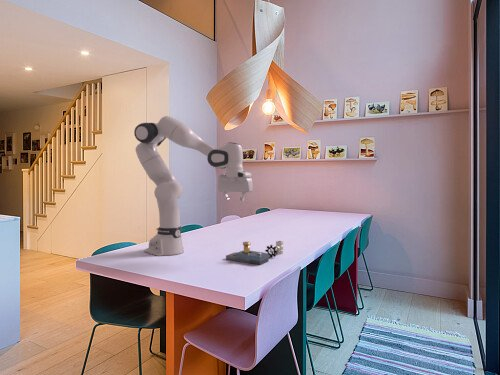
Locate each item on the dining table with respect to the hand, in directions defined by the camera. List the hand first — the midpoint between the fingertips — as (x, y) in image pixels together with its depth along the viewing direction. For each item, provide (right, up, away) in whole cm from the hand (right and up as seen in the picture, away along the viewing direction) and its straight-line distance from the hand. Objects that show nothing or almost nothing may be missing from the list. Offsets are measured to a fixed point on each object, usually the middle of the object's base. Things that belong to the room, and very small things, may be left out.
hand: (234, 200), depth 175 cm
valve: (+22, -29, +3) cm, 37 cm away
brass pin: (+6, -30, -7) cm, 31 cm away
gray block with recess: (+6, -30, -7) cm, 31 cm away
